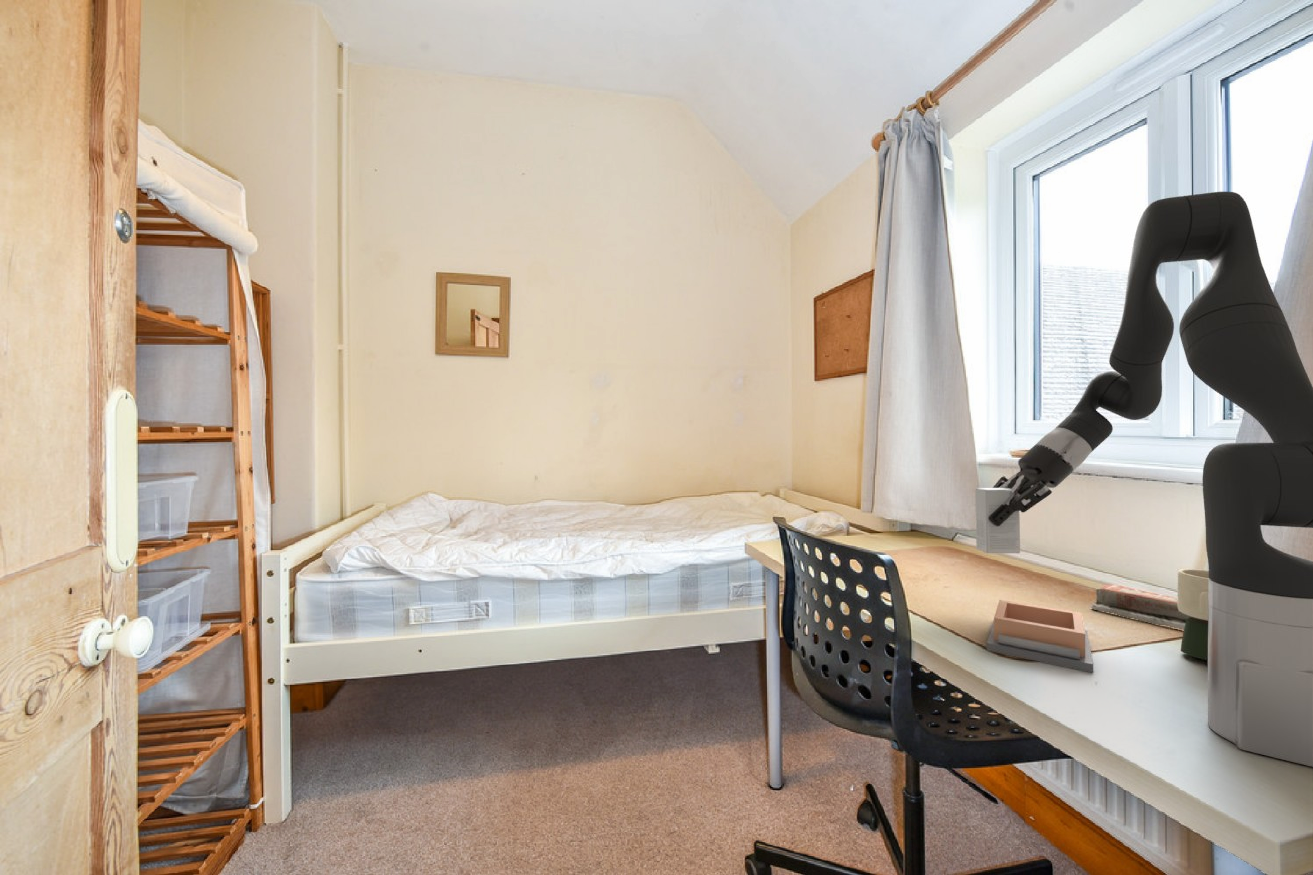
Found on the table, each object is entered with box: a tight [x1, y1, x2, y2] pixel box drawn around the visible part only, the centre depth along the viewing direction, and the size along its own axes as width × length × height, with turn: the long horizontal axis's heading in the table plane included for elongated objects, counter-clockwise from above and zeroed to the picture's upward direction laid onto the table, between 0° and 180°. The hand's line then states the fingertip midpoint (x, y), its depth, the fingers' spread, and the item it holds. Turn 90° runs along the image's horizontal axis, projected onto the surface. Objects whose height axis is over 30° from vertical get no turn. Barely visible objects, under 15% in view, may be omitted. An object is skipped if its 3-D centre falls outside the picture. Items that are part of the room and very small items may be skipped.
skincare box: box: [974, 487, 1021, 554], centre depth 100 cm, size 6×4×12 cm
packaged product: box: [1090, 583, 1191, 630], centre depth 97 cm, size 18×5×10 cm
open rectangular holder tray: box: [986, 599, 1094, 674], centre depth 86 cm, size 16×13×5 cm
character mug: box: [1177, 568, 1209, 664], centre depth 80 cm, size 11×7×13 cm, turn 127°
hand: (986, 520), depth 101 cm, fingers closed on skincare box, 4 cm apart
